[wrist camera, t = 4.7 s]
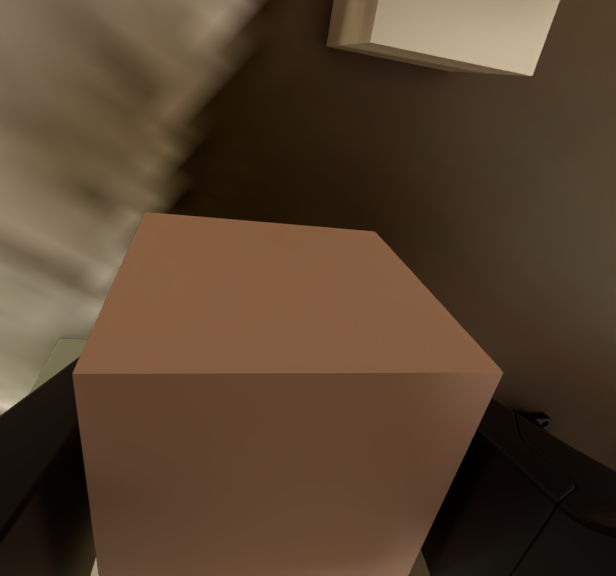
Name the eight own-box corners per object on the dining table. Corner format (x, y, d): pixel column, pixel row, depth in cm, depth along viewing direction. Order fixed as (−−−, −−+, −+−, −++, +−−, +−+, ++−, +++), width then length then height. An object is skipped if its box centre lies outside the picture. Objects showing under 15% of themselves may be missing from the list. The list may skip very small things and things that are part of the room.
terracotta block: (335, 395, 12) (402, 587, 8) (149, 399, 11) (105, 628, 6) (375, 231, 10) (503, 372, 5) (144, 211, 8) (72, 373, 4)
